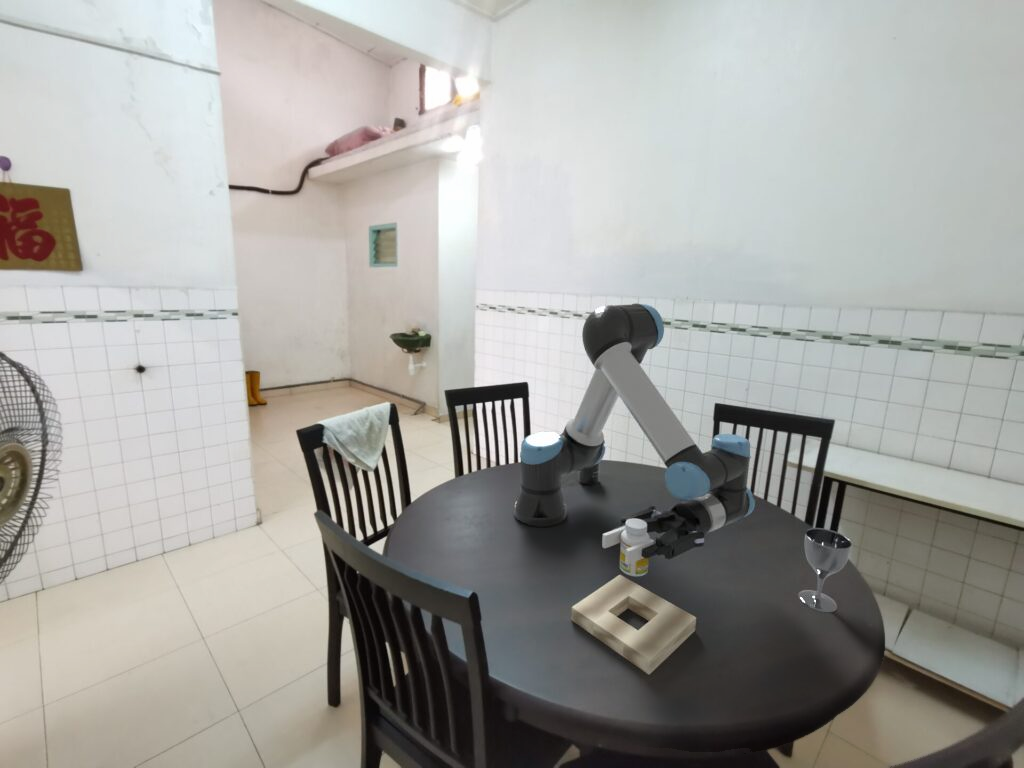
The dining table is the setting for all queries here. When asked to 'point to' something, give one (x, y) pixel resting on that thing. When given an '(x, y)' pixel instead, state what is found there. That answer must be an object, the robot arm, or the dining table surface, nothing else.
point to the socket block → (635, 645)
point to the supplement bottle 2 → (631, 537)
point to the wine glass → (824, 564)
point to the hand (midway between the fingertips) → (615, 548)
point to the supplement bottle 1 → (590, 475)
